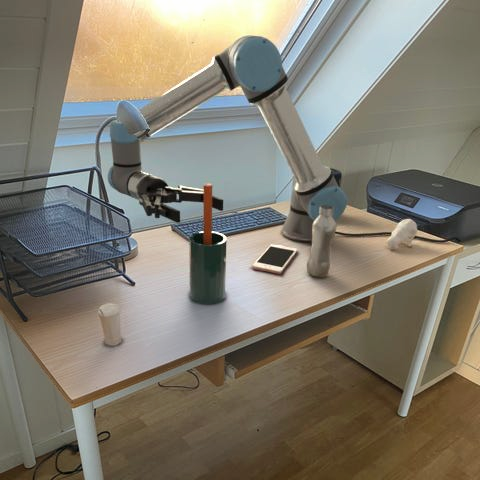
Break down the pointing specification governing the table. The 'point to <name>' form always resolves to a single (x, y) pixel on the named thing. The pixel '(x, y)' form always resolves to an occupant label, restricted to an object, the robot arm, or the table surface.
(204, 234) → the brush
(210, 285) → the cup
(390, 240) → the white animal figurine
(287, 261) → the cell phone
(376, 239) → the table surface
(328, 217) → the plastic bottle
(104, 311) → the milkshake
